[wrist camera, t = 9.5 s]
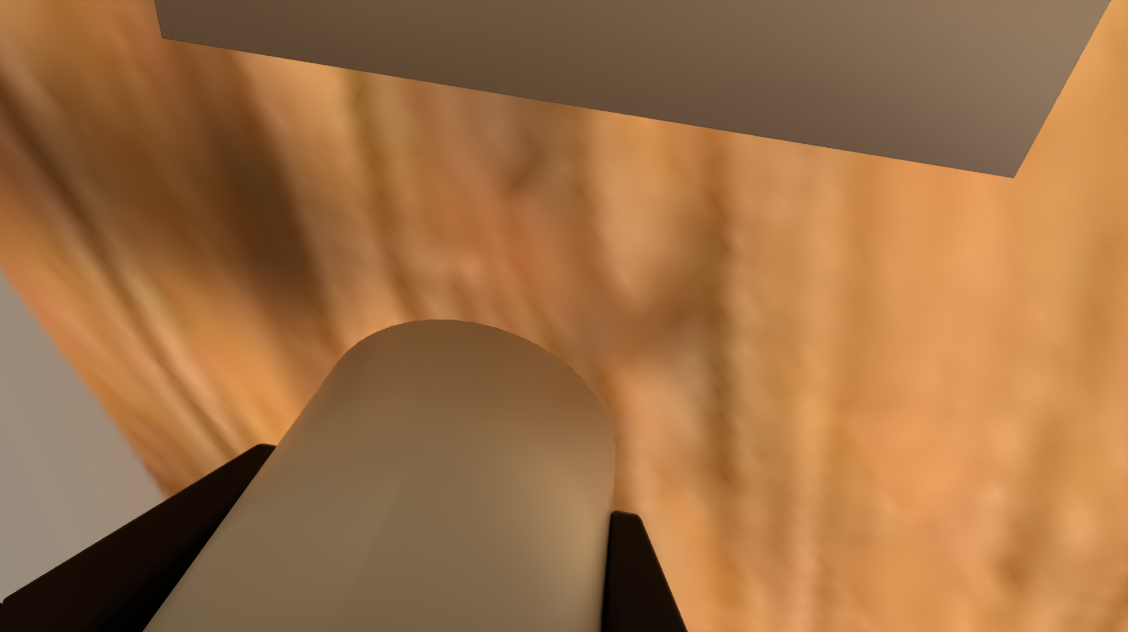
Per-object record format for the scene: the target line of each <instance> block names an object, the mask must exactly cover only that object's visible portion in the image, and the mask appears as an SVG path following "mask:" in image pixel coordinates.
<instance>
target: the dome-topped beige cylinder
mask: <svg viewBox="0 0 1128 632" xmlns="http://www.w3.org/2000/svg"><path fill="white" fill-rule="evenodd" d="M615 463H616V448H615V439H614V435H613V430H612V427H611V424H610V421H609V419H608V416H607V414H606V412H605V410H604V408H603V406H602V405H601V403H600V401H599V399H598V398H597V396H596V395H595V394H594V393H593V391H592V390H591V389H590V387H589V386H588V385H587V384H586V382H585V381H584V380H583V379H582V378H581V377H580V376H579V375H578V374H577V373H576V372H575V371H574V370H573V369H572V368H570V367H569V366H568V365H566V364H565V363H564V362H563V361H561V360H560V359H559V358H557V357H556V356H555V355H553V354H552V353H550V352H548V351H547V350H545V349H543V348H542V347H540V346H539V345H537V344H535V343H533V342H531V341H528V340H526V339H524V338H522V337H520V336H518V335H515V334H513V333H510V332H507V331H504V330H501V329H498V328H495V327H491V326H487V325H482V324H478V323H474V322H466V321H458V320H422V321H413V322H407V323H403V324H399V325H395V326H391V327H388V328H386V329H383V330H381V331H378V332H375V333H373V334H372V335H370V336H368V337H366V338H365V339H363V340H361V341H359V342H358V343H357V344H356V345H354V346H353V347H352V348H351V349H350V350H348V351H347V352H346V353H345V354H344V356H343V357H342V358H341V359H340V360H339V361H338V363H337V364H336V365H335V366H334V368H333V369H332V371H331V372H330V373H329V375H328V376H327V378H326V379H325V380H324V382H323V383H322V384H321V386H320V387H319V389H318V390H317V391H316V393H315V394H314V396H313V397H312V398H311V400H310V401H309V402H308V404H307V405H306V407H305V408H304V409H303V411H302V412H301V413H300V415H299V416H298V418H297V419H296V420H295V422H294V423H293V425H292V426H291V427H290V429H289V430H288V431H287V433H286V434H285V436H284V437H283V438H282V440H281V441H280V443H279V444H278V445H277V447H276V448H275V449H274V451H273V452H272V454H271V455H270V456H269V458H268V459H267V460H266V462H265V463H264V465H263V466H262V467H261V469H260V470H259V472H258V473H257V474H256V476H255V477H254V478H253V480H252V481H251V483H250V484H249V485H248V487H247V488H246V489H245V491H244V492H243V494H242V495H241V496H240V498H239V499H238V501H237V502H236V503H235V505H234V506H233V507H232V509H231V510H230V512H229V513H228V514H227V516H226V517H225V519H224V520H223V521H222V523H221V524H220V525H219V527H218V528H217V530H216V531H215V532H214V534H213V535H212V536H211V538H210V539H209V541H208V542H207V543H206V545H205V546H204V548H203V549H202V550H201V552H200V553H199V554H198V556H197V557H196V559H195V560H194V561H193V563H192V564H191V565H190V567H189V568H188V570H187V571H186V572H185V574H184V575H183V577H182V578H181V579H180V581H179V582H178V583H177V585H176V586H175V588H174V589H173V590H172V592H171V593H170V595H169V596H168V597H167V599H166V600H165V601H164V603H163V604H162V606H161V607H160V608H159V610H158V611H157V612H156V614H155V615H154V617H153V618H152V619H151V621H150V622H149V624H148V625H147V626H146V628H145V629H144V630H143V632H602V625H603V612H604V600H605V586H606V573H607V561H608V548H609V536H610V523H611V513H612V500H613V488H614V475H615Z"/></svg>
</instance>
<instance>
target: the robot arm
mask: <svg viewBox="0 0 1128 632" xmlns="http://www.w3.org/2000/svg"><path fill="white" fill-rule="evenodd" d="M276 447H277V446H275V445H270V444H259V445H256V446H254V447H252V448H251V449H249V450H247V451H246V452H244V453H242V454H241V455H239V456H237V457H236V458H234V459H233V460H231V461H229V462H228V463H226V464H224V465H223V466H221V467H219V468H218V469H216V470H214V471H213V472H211V473H210V474H208V475H206V476H205V477H203V478H201V479H200V480H198V481H196V482H195V483H193V484H191V485H190V486H188V487H187V488H185V489H183V490H182V491H180V492H178V493H177V494H175V495H173V496H172V497H170V498H169V499H167V500H165V501H164V502H162V503H160V504H159V505H157V506H155V507H154V508H152V509H151V510H149V511H147V512H146V513H144V514H142V515H141V516H139V517H137V518H136V519H134V520H132V521H131V522H129V523H128V524H126V525H124V526H123V527H121V528H119V529H118V530H116V531H114V532H113V533H111V534H109V535H108V536H106V537H104V538H103V539H101V540H100V541H98V542H96V543H95V544H93V545H92V546H90V547H88V548H86V549H85V550H83V551H82V552H80V553H78V554H77V555H75V556H73V557H72V558H70V559H68V560H67V561H65V562H63V563H62V564H60V565H59V566H57V567H55V568H54V569H52V570H50V571H49V572H47V573H45V574H44V575H42V576H40V577H39V578H38V579H36V580H34V581H32V582H31V583H29V584H28V585H26V586H24V587H22V588H21V589H19V590H18V591H16V592H14V593H13V594H11V595H9V596H8V597H6V598H5V599H4V600H3V602H2V603H0V632H143V630H144V629H145V628H146V626H147V625H148V624H149V622H150V621H151V619H152V618H153V617H154V615H155V614H156V612H157V611H158V610H159V608H160V607H161V606H162V604H163V603H164V601H165V600H166V599H167V597H168V596H169V595H170V593H171V592H172V590H173V589H174V588H175V586H176V585H177V583H178V582H179V581H180V579H181V578H182V577H183V575H184V574H185V572H186V571H187V570H188V568H189V567H190V565H191V564H192V563H193V561H194V560H195V559H196V557H197V556H198V554H199V553H200V552H201V550H202V549H203V548H204V546H205V545H206V543H207V542H208V541H209V539H210V538H211V536H212V535H213V534H214V532H215V531H216V530H217V528H218V527H219V525H220V524H221V523H222V521H223V520H224V519H225V517H226V516H227V514H228V513H229V512H230V510H231V509H232V507H233V506H234V505H235V503H236V502H237V501H238V499H239V498H240V496H241V495H242V494H243V492H244V491H245V489H246V488H247V487H248V485H249V484H250V483H251V481H252V480H253V478H254V477H255V476H256V474H257V473H258V472H259V470H260V469H261V467H262V466H263V465H264V463H265V462H266V460H267V459H268V458H269V456H270V455H271V454H272V452H273V451H274V449H275V448H276ZM602 632H688V631H687V629H686V626H685V624H684V622H683V619H682V617H681V614H680V612H679V609H678V607H677V605H676V602H675V600H674V597H673V595H672V592H671V590H670V588H669V585H668V583H667V580H666V578H665V575H664V573H663V571H662V568H661V566H660V563H659V561H658V558H657V556H656V554H655V551H654V549H653V546H652V544H651V542H650V539H649V537H648V534H647V532H646V529H645V527H644V525H643V522H642V520H641V518H640V517H639V516H638V515H637V514H634V513H628V512H623V511H618V510H617V511H613V512H612V514H611V523H610V536H609V548H608V561H607V573H606V586H605V600H604V612H603V625H602Z"/></svg>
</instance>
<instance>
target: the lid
mask: <svg viewBox="0 0 1128 632" xmlns="http://www.w3.org/2000/svg"><path fill="white" fill-rule="evenodd" d="M154 1H155V6H156V11H157V16H158V20H159V25H160V30H161V35H162V38H164V39H170V40H176V41H182V42H188V43H194V44H200V45H206V46H212V47H219V48H225V49H231V50H237V51H243V52H249V53H255V54H261V55H267V56H273V57H279V58H286V59H292V60H298V61H304V62H310V63H316V64H322V65H328V66H334V67H340V68H346V69H353V70H359V71H365V72H371V73H377V74H383V75H389V76H395V77H401V78H407V79H413V80H419V81H426V82H432V83H438V84H444V85H450V86H456V87H462V88H468V89H474V90H480V91H486V92H493V93H499V94H505V95H511V96H517V97H523V98H529V99H535V100H541V101H547V102H553V103H559V104H566V105H572V106H578V107H584V108H590V109H596V110H602V111H608V112H614V113H620V114H626V115H633V116H639V117H645V118H651V119H657V120H663V121H669V122H675V123H681V124H687V125H693V126H700V127H706V128H712V129H718V130H724V131H730V132H736V133H742V134H748V135H754V136H760V137H766V138H773V139H779V140H785V141H791V142H797V143H803V144H809V145H815V146H821V147H827V148H833V149H840V150H846V151H852V152H858V153H864V154H870V155H876V156H882V157H888V158H894V159H900V160H906V161H913V162H919V163H925V164H931V165H937V166H943V167H949V168H955V169H961V170H967V171H973V172H980V173H986V174H992V175H998V176H1004V177H1010V178H1014V177H1015V175H1016V173H1017V172H1018V170H1019V168H1020V166H1021V164H1022V162H1023V161H1024V159H1025V157H1026V155H1027V153H1028V151H1029V150H1030V148H1031V146H1032V144H1033V142H1034V140H1035V139H1036V137H1037V135H1038V133H1039V131H1040V129H1041V128H1042V126H1043V124H1044V122H1045V120H1046V118H1047V117H1048V115H1049V113H1050V111H1051V109H1052V107H1053V106H1054V104H1055V102H1056V100H1057V98H1058V96H1059V95H1060V93H1061V91H1062V89H1063V87H1064V85H1065V84H1066V82H1067V80H1068V78H1069V76H1070V74H1071V73H1072V71H1073V69H1074V67H1075V65H1076V63H1077V62H1078V60H1079V58H1080V56H1081V54H1082V52H1083V51H1084V49H1085V47H1086V45H1087V43H1088V41H1089V40H1090V38H1091V36H1092V34H1093V32H1094V30H1095V29H1096V27H1097V25H1098V23H1099V21H1100V19H1101V18H1102V16H1103V14H1104V12H1105V10H1106V8H1107V7H1108V5H1109V3H1110V1H1111V0H154Z"/></svg>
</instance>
